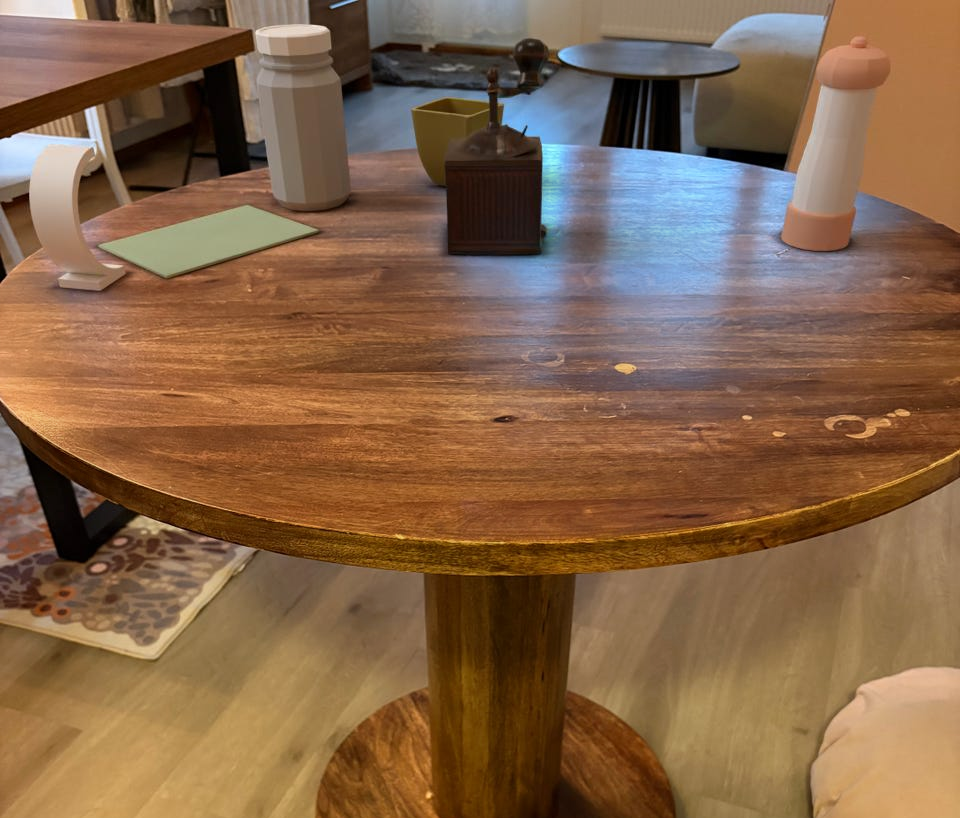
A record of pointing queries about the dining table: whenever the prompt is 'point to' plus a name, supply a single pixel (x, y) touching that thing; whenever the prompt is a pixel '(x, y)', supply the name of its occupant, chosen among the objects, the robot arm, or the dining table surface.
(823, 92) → the salt shaker
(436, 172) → the flower pot
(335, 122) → the jar
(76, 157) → the headphone stand
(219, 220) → the placemat
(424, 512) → the dining table surface
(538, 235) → the brown manual coffee grinder
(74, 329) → the dining table surface
